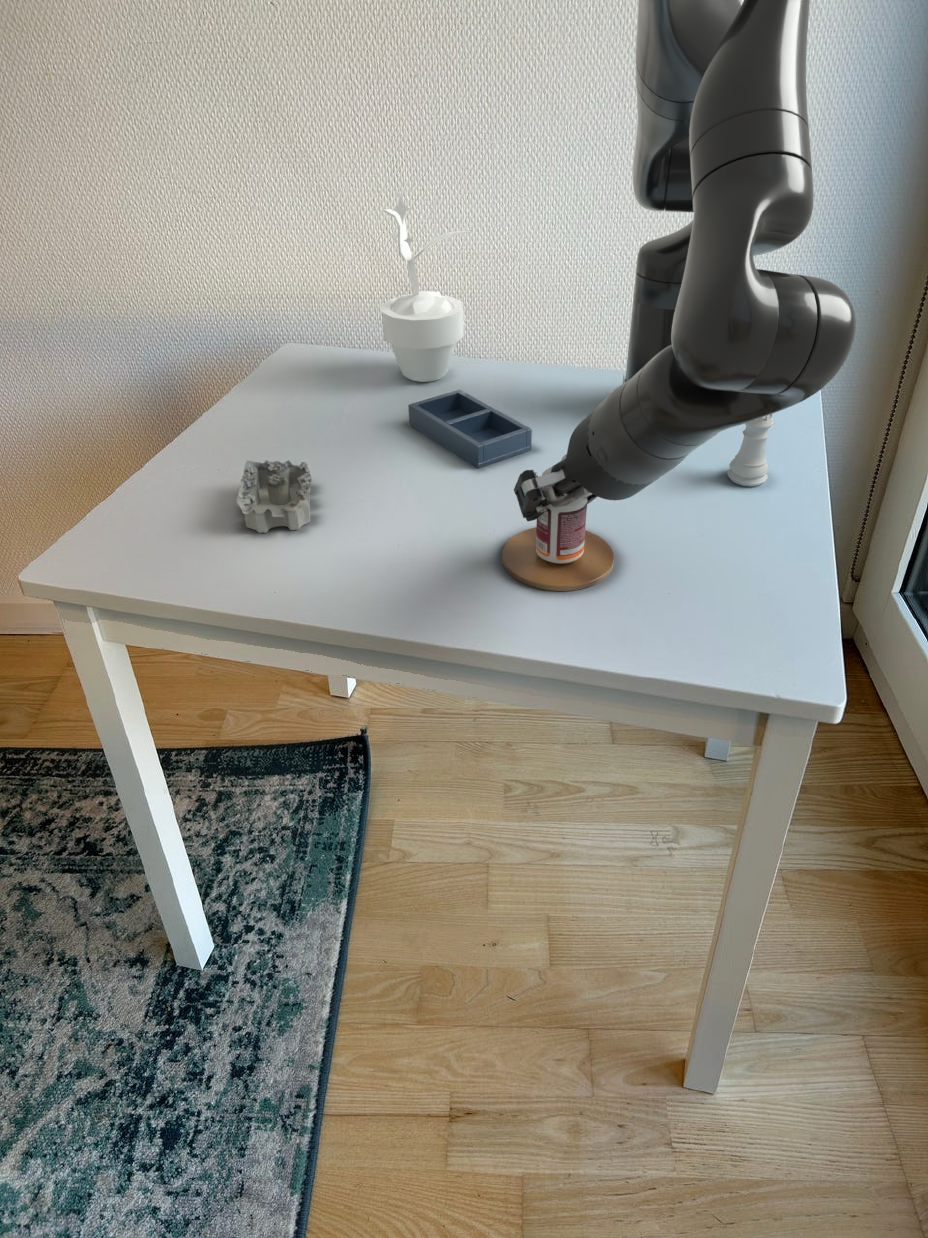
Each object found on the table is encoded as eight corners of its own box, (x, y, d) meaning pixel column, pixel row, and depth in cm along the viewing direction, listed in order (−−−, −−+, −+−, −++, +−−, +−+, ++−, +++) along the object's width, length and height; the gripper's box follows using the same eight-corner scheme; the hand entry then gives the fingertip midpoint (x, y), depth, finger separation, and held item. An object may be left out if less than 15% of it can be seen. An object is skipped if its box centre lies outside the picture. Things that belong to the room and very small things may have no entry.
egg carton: (311, 531, 90) (306, 497, 88) (239, 536, 90) (232, 501, 88) (316, 482, 99) (311, 450, 96) (250, 486, 98) (244, 454, 96)
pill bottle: (588, 543, 86) (594, 467, 81) (577, 568, 82) (583, 490, 77) (542, 535, 87) (545, 460, 82) (529, 560, 84) (531, 482, 79)
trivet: (564, 519, 92) (564, 514, 91) (637, 565, 84) (637, 560, 84) (480, 552, 87) (480, 547, 86) (550, 605, 79) (550, 599, 79)
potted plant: (376, 388, 121) (360, 193, 106) (395, 358, 130) (383, 174, 115) (465, 393, 119) (461, 195, 104) (477, 362, 128) (476, 176, 113)
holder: (460, 409, 115) (459, 389, 113) (531, 450, 105) (532, 428, 103) (409, 424, 111) (408, 404, 109) (478, 468, 101) (478, 446, 99)
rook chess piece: (770, 473, 99) (784, 407, 94) (763, 491, 96) (778, 423, 91) (730, 466, 100) (743, 401, 96) (722, 483, 97) (735, 416, 92)
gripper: (692, 377, 70) (601, 453, 86) (538, 410, 66) (472, 485, 82) (723, 462, 70) (626, 523, 86) (570, 502, 65) (497, 559, 81)
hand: (551, 504), depth 83 cm, fingers closed on pill bottle, 4 cm apart
